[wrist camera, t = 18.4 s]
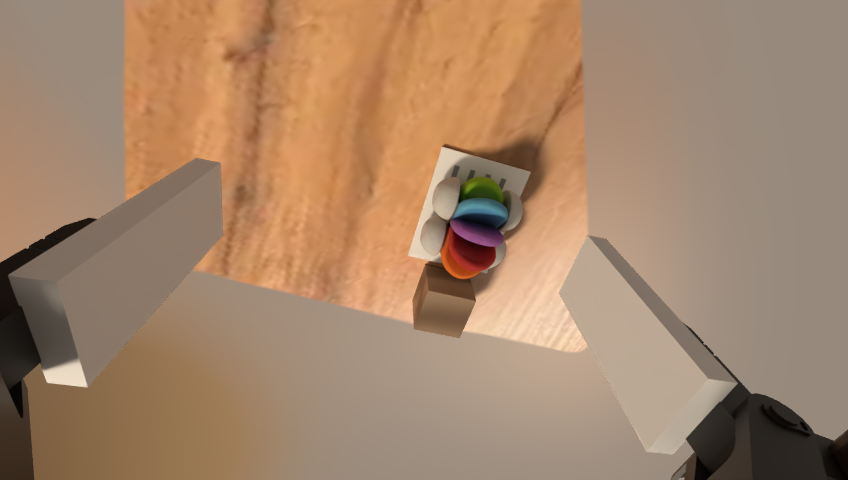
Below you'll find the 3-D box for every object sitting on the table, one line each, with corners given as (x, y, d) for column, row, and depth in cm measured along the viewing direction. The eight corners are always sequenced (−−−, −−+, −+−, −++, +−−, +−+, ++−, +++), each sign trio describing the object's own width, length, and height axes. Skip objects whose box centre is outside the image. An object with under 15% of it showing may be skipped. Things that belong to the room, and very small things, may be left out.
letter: (442, 146, 35) (442, 147, 35) (530, 171, 37) (531, 172, 37) (408, 254, 41) (408, 256, 40) (486, 272, 42) (486, 273, 42)
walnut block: (425, 263, 41) (428, 290, 37) (468, 273, 42) (476, 301, 38) (412, 299, 44) (414, 329, 39) (453, 308, 44) (459, 338, 40)
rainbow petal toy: (413, 246, 40) (415, 286, 33) (442, 158, 36) (451, 185, 29) (488, 264, 41) (504, 305, 35) (524, 182, 37) (550, 212, 31)
